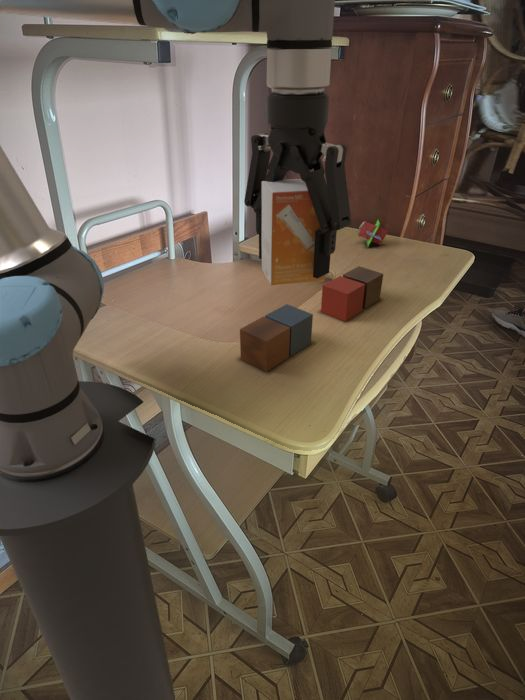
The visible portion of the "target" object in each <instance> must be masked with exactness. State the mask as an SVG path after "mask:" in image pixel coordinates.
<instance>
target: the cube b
mask: <svg viewBox="0 0 525 700" xmlns="http://www.w3.org/2000/svg"><path fill="white" fill-rule="evenodd" d="M264 317H266V318H268V319H271V320H273V321H276V322H278V323H280V324H283V325H285V326H287V327H290V344H289V357H292V356H293V355H295V354H296V353H298V352H300V351H301V350H303V349H304V348H306V347H307V346H310V345H311V344H312V337H313V319H314V318H313V317H314V314H313V313H311V312H308V311H305V310H303V309H301V308H298V307H295V306H293V305H290V304H288V303H286V304H284V305H282V306H280V307H278V308H277V309H274V310H273V311H271V312H269V313H267V314H265V315H264Z"/></svg>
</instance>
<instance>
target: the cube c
mask: <svg viewBox="0 0 525 700" xmlns="http://www.w3.org/2000/svg"><path fill="white" fill-rule="evenodd" d="M321 288H322V289H321V303H320V304H321V305H320V312H321V313H322V314H325V315H327V316H329V317H332V318H334V319H338V320H341V321H343V322H347V321H349V320H350V319H352V318H354V317H356V315H358V314H360V313H361V312H363V308H362V306H363V298H364V289H365V284H363V283H360V282H357V281H354V280H351V279H348V278H345V277H343V275H340V276H337V277H335V278H334V279H331V280H330V281H328V282H326V283H324V284H322V287H321Z"/></svg>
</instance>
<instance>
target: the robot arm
mask: <svg viewBox="0 0 525 700" xmlns="http://www.w3.org/2000/svg"><path fill="white" fill-rule="evenodd" d="M335 4H336V0H0V14H2V15H3V14H4V15H14V16H16V15H17V16H27V17H39V18H50V19H62V20H74V21H87V22H95V23H96V22H97V23H109V24H121V25H131V26H132V25H133V26H142V27H145V26H146V27H148V28H157V29H164V30H166V31H167V32H172V33H184V34H186V35H187V34H191V35H195V34H197V33H203V34H204V33H242V32H253V33H259V32H265V33H266V39H267V40H266V87H268V88H269V89H271V92H270V91H269V92H268V94H267V95H266V123H267V125H268V126H269V127H270V131H269V133H268V132H262V133H258V134H253V135H252V136H251V138H250V143H251V153H252V154H251V158H250V164H249V170H248V177H247V181H246V182H247V183H246V189H245V195H244V202H243V203H244V206H246V207H250V208H252V209H253V212H254V213H255V232H256V234H257V235H258V259H260V260H262V181H268V182H275V181H279V180H285V177H286V175H287V173H288V172H289V171H291V172H293V173H294V174H298V175H299V177H300V179H302V181H304V182H305V183H306V186H307V189H308V192H309V195H310V198H311V201H312V204H313V207H314V210H315V213H316V216H317V219H318V222H319V225H320V228H321V229H319V230H316V231H315V246H314V265H313V277H314V278H319V277H322V276H324V275H325V276H326V275H328V274H330V268H331V267H330V266H331V265H330V264H331V254H334V253H335V251H336V245H337V233H338V231H340V230H342V229H344V228H346V227H350V226H351V224H352V216H351V209H350V208H351V207H350V199H349V190H348V182H347V173H346V167H345V166H346V165H345V163H346V157H347V151H348V148H347V145H346V144H345V143H340V144H333V143H331V142H330V143H329V142H328V141H327V139H326V136H325V129H326V127H327V124H328V121H329V108H330V106H329V105H330V103H329V102H330V95H329V93H328V92H327V91H325V89H327V88H328V87H329V86H330V85H331V84H330V83H331V69H332V68H331V67H332V48H333V35H334V34H333V33H334V20H335V18H334V17H335ZM271 152H272V156H271ZM322 156H323V157H322ZM321 157H322V159H321ZM323 162H324V165H323ZM101 271H102V270H101V269H100V267H99V265H98V264H97V262H96V261H95V259H93V257H91V255H89V254H88V253H86V251H84V250H80V249H78V248H77V247H76V246H73V244H72V242H71V240H70V239H69V238H68V235H67V234H66V233H65V232H63V231H59V230H57V229H54V228H51V227H50V226H49V224H48V223H47V221H46V219H45V217H44V216H43V214H42V213H41V210H40V209H39V208H38V206H37V204H36V202H35V201H34V199H33V198H32V196H31V194H30V193H29V191H28V190H27V187H26V186H25V185H24V182H23V181H22V179H21V177H20V176H19V174H18V172H17V171H16V169H15V167H14V165H13V164H12V162H11V161H10V159H9V158H8V156H7V154H6V152H5V151H4V149H3V147H2V145H0V475H1V476H3V477H5V478H7V479H10V480H13V481H19V482H37V481H44V480H49V479H52V478H56V477H59V476H62V475H64V474H67V473H69V472H71V471H73V470H74V469H76V468H78V467H80V466H81V465H83V464H84V463H85V462H87V461H88V460H89V459H90V458H91V457H92V456H93V455H94V454H95V453H96V452H97V450H98V449H99V447H100V445H101V444H102V441H103V438H104V428H103V423H102V419H101V416H100V415H99V413H98V411H97V410H96V408H95V407H94V406H93V404H92V403H91V401H90V400H89V399H88V397H87V396H86V395H85V393H84V392H83V390H82V389H81V388H80V384H79V381H80V380H79V376H78V372H77V369H76V363H75V360H74V351H75V348H76V346H77V345H78V343H79V341H80V340H81V338H82V336H83V334H84V333H85V331H86V330H87V328H88V325H89V324H90V323H91V321H92V320H93V319H94V317H96V316H97V313H98V312H99V310H100V306H101V304H102V300H103V297H104V292H105V281H104V277H103V274H102V272H101Z"/></svg>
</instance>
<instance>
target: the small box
mask: <svg viewBox="0 0 525 700" xmlns="http://www.w3.org/2000/svg"><path fill="white" fill-rule="evenodd" d="M319 229H321V228H320V225H319V222H318V219H317V216H316V213H315V210H314V207H313V204H312V201H311V198H310V195H309V192H308V189H307V186H306V183H305V182H304V181H302V179H301V178H286V179H284V180H279V181H275V182H268V181H262V259H261V270H262V272H263V274H264V275H265V277H266V279H267V281H268V283H269V284H270V286H278V285H280V286H281V285H289V284H290V285H291V284H301V283H312V282H325V280H326V275H324V276H322V277H319V278H314V277H313V265H314V246H315V231H316V230H319Z"/></svg>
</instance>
